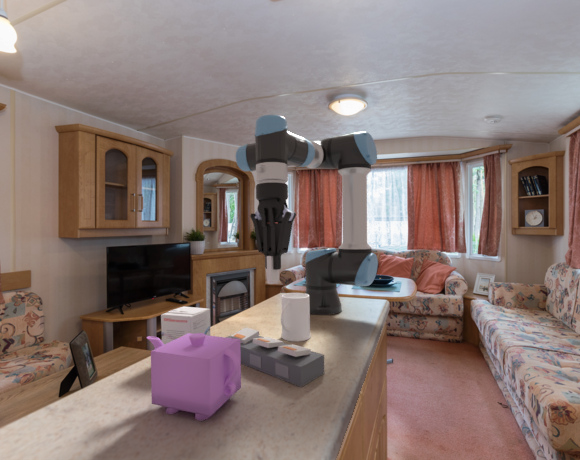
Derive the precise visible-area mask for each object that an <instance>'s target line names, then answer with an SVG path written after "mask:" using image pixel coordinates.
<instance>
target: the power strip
mask: <svg viewBox="0 0 580 460" xmlns="http://www.w3.org/2000/svg"><path fill="white" fill-rule="evenodd" d="M264 337H265V336H261V335H258V336H257V337H255V338H264ZM225 338H231V335H229V336H226V337H225ZM284 345H290V344H288V343H286V342H283V346H284ZM240 350H241V365H244V366H246V367H248V368H252V369H253V370H257V371H259V372H262V373H264V374H266V375H270V376H271V377H274V378H277V379H279V380H282V381H284V382H287V383H290V384H292V385H294V386H297V387H300V388H302V387H304V386H306V385H307V384H308V383H311V382H312V381H314V380H316V379H317V378H319V377H321V376H323V375H325V354H323V353H318V352H315V351H313V350H311V352H310V354H309V355H303V356H297V357H295V356H292V355H289V354H286V353H282V352H279V351H278V347H271V348H267V347H264V346H261V345H257V344H254V343H253V339H252V340H250V341H249V342H247V343H245V344H243V343H240Z"/></svg>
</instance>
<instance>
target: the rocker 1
mask: <svg viewBox="0 0 580 460" xmlns="http://www.w3.org/2000/svg"><path fill="white" fill-rule="evenodd" d="M230 336H231V338H233V339H240V343H243V344H245V343H247V342H249V341H250V340H252V339H253V338H255V337H257V336H261V334H260V330H256V329H254V328H250V327H246V326H245V327H243V328H242V329H240V330H238V331H236V332H235V333H233V334H231V335H230Z"/></svg>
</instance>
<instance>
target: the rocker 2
mask: <svg viewBox="0 0 580 460" xmlns="http://www.w3.org/2000/svg"><path fill="white" fill-rule="evenodd" d="M263 337H264V338H253V343H254V344H257V345H261V346H264V347H267V348H271V347H278V346H283V343H284V341H282V340H279V339H276V338H273V337H270V336H269V337H268V336H266V337H265V336H263Z"/></svg>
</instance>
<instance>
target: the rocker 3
mask: <svg viewBox="0 0 580 460" xmlns="http://www.w3.org/2000/svg"><path fill="white" fill-rule="evenodd" d="M278 351H279V352H282V353H286V354H289V355H292V356H295V357H297V356H303V355H309V354H310V352H311V351H312V350H311V348H307V347H304V346H300V345H296V344H293V343H292V344H289V345H284V346H278Z"/></svg>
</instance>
